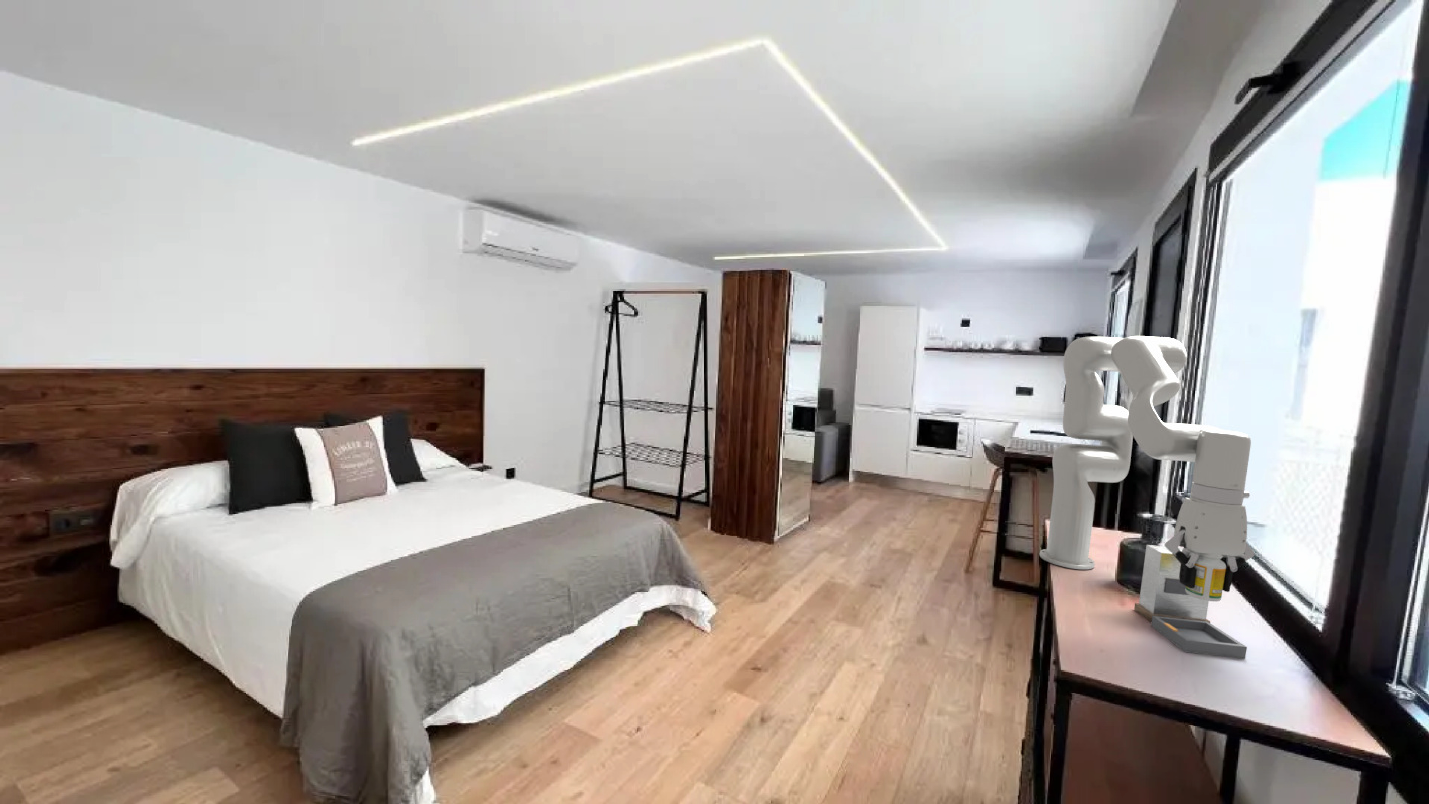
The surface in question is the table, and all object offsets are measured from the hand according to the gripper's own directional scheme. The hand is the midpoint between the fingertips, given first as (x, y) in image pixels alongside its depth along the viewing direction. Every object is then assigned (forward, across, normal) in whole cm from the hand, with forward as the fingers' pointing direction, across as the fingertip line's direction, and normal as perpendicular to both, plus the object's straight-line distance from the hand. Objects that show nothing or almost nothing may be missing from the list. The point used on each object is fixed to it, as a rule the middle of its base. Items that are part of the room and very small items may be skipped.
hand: (1204, 586), depth 111 cm
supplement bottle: (+2, 0, 0) cm, 2 cm away
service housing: (+11, -2, -10) cm, 15 cm away
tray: (+11, 0, 0) cm, 11 cm away
